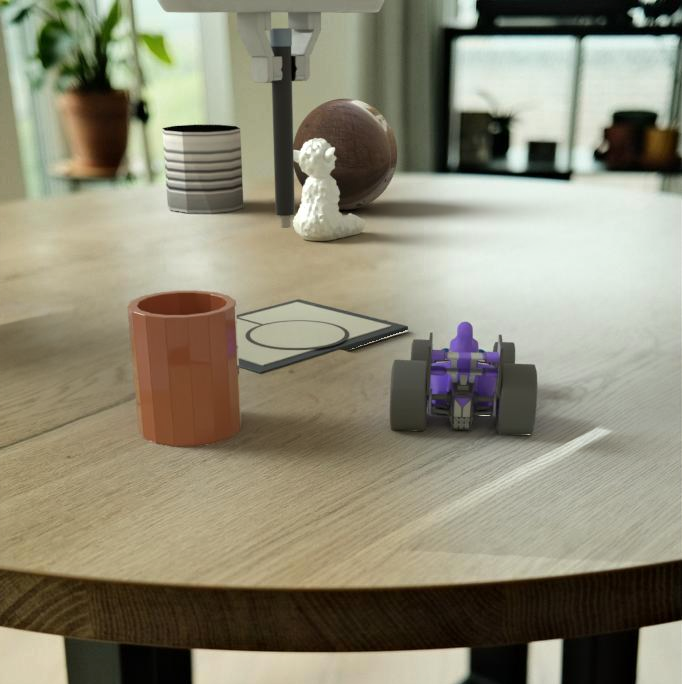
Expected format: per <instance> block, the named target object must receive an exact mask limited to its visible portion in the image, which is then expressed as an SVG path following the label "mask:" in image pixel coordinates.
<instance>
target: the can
mask: <svg viewBox="0 0 682 684" xmlns="http://www.w3.org/2000/svg"><path fill="white" fill-rule="evenodd" d="M161 129H162V131H161V133H162V143H163V159H164V170H165V173H164V174H165V183H166V184H165V186H166V197H167V198H166V199H167V207H169V208H170V209H169V208H168V209H169V210H170V211H171V210H172V211H171V212H175V211H179V212H178V213H182V212H185V213H184V214H203V215H204V214H207V215H208V214H220V213H229V212H235V211H238V210H240V209H243V208H244V189H243V188H244V186H243V163H242V162H243V161H242V160H243V159H242V139H241V128H240V127H238V125H237V126H236V125H229V124H207V123H206V124H192V123H191V124H190V123H189V124H180V125H172V126H171V125H170V126H166V127H162V128H161Z"/></svg>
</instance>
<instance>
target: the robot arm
mask: <svg viewBox="0 0 682 684" xmlns="http://www.w3.org/2000/svg"><path fill="white" fill-rule="evenodd" d="M157 2H158V4H159V5H160V7H161V8H162V9H163V11H164V12H166V13H180V14H181V13H182V14H183V13H186V14H187V13H189V14H190V13H194V14H195V13H197V14H198V13H202V14H203V13H205V14H207V13H208V14H209V13H236V28H237V33H238V36H239V37H240V39H241V42H242V43H243V45H244V47H245V49H246V51H247V53H248V55H249V56H250V60H251V61H250V63H251V64H250V65H251V78H252V80H253V82H254V83H256V84H272V83H276V82H280V81H281V80H282V77H283V76H282V71H281V68H282V56H274V54H273V51H272V48H271V46H270V39H269V38H268V35H267V32H266V31H270V30H271V28H272V13H287V22H288V23H287V25H288V27H287V28H290V29H291V30H293V31H292V32H293V33H292V46H291V60H292V82H307V81H308V80H309V79H310V76H311V63H310V62H311V61H310V59H311V58H310V57H311V55H312V54H313V50H314V49H315V46H316V43H317V41H318V38H319V36H320V33H321V31H322V13H334V14H335V13H339V14H340V13H342V14H344V13H345V14H347V13H348V14H349V13H351V14H361V13H362V14H366V13H379V12H380V10H381V9H382V7H383V5H384V3H385V0H157Z"/></svg>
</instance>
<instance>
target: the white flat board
mask: <svg viewBox="0 0 682 684" xmlns="http://www.w3.org/2000/svg"><path fill="white" fill-rule="evenodd" d="M405 330H408V331H409V325H405V324H401V323H396V322H394V321H389V320H384V319H381V318H377V317H373V316H369V315H366V314H365V315H364V314H360V313H356V312H353V311H348V310H344V309H340V308H337V307H331V306H328V305H323V304H320V303H315V302H312V301H308V300H305V299H304V300H303V299H299V298H298V299H293V300H290V301H286V302H282V303H279V304H274V305H271V306H267V307H262V308H259V309H255V310H251V311H247V312H243V313H238V314H237V335H238V357H239V369H243V370H247V371H249V372H252V373H254V374H255V373H256V374H259V375H262V374H265V373H268V372H271V371H275V370H278V369H281V368H284V367H288V366H291V365H294V364H298V363H300V362H304V361H306V360H311V359H313V358H317V357H319V356H323V355H325V354H329V353H333V352H336V351H338V350H341V351H345V352H348V351H347V350H350V349H352V348H356V347H358V346H360V345H364V344H367V343H369V342H372V341H376V340H379V339H381V338H384V337H387V336H390V335H393V334H396V333H399V332H403V331H405Z"/></svg>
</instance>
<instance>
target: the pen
mask: <svg viewBox="0 0 682 684" xmlns="http://www.w3.org/2000/svg"><path fill="white" fill-rule="evenodd" d="M292 30H293V29H290V28H288V27H287V28H286V27H285V28H284V27H283V28H281V27H279V28H278V27H277V28H276V27H273V28H272V27H271V30H269V43H270V46H271V48H272V51H273V54H274V56H282V68H281V71H282V76H283V77H282V80H281V81H280V82H276V83H271V102H272V133H273V135H272V137H273V138H272V139H273V167H274V169H273V171H274V173H273V174H274V200H275V201H274V203H275V204H274V205H275V215H276V216H279V222H280V225H279V227H280V228H282V229H288V228H289V229H290V228H291V223H292V221H291V216H295V215H296V211H295V209H296V208H295V207H296V205H295V204H296V203H295V170H294V154H293V143H294V114H293V113H294V112H293V110H294V109H293V81H292V60H291V46H292V36H293V33H292V32H293V31H292Z"/></svg>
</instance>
